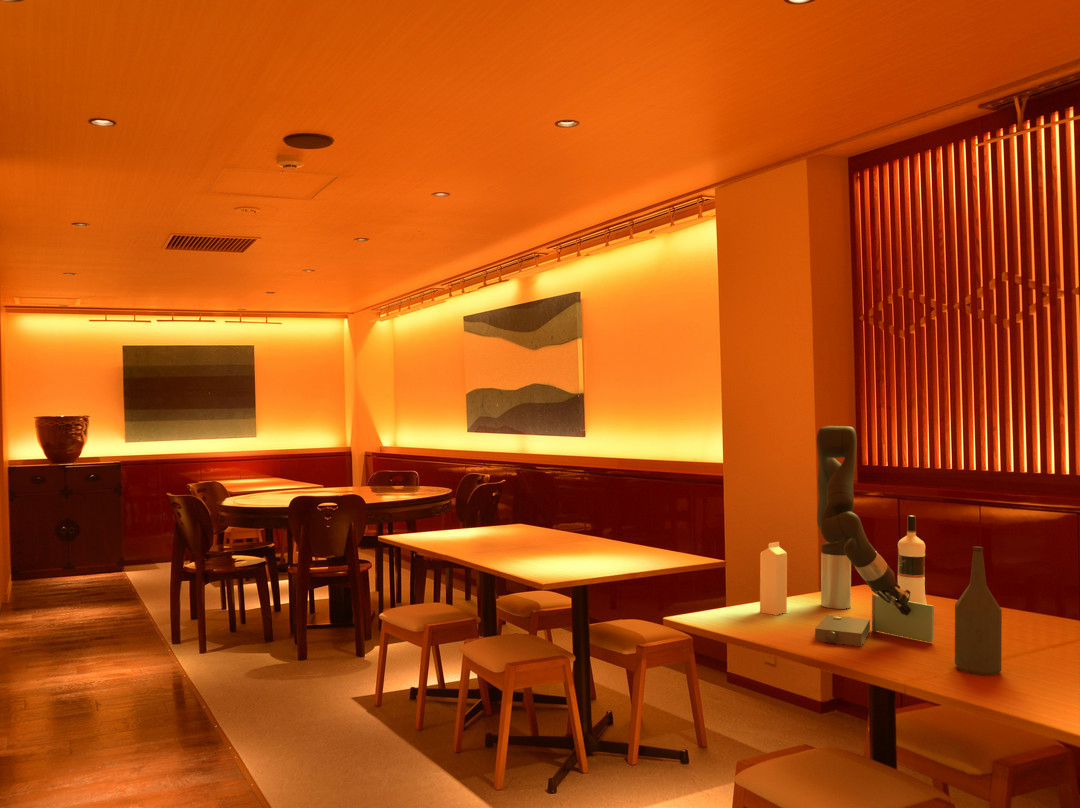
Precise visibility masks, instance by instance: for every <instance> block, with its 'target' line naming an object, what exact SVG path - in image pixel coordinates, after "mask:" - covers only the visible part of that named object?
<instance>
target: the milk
mask: <svg viewBox="0 0 1080 808" xmlns="http://www.w3.org/2000/svg"><path fill="white" fill-rule="evenodd" d="M759 563H760V565H759V568H760V569H759V571H760V573H759V574H760V575H759V576H760V577H759V578H760V579H759V613H761V614H762V613H763V614H766V615H767V614H768V615H772V614H773V615H772V616H779V614H780V615H783V614H782V613H784V614H786V612H787V608H788V607H787V606H788V603H787V602H788V600H787V599H788V598H787V597H788V552H787V551H785V550H784V549H783V548H781V547H780V541H774V542H769V543H768V546H767V548H765V549H764V550H763V551H761V552H760V561H759Z"/></svg>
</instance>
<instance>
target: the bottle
mask: <svg viewBox="0 0 1080 808" xmlns="http://www.w3.org/2000/svg"><path fill="white" fill-rule="evenodd" d="M972 551H973V553H972V559H971V560H972V561H971V569H970V578H969V584H968V585H967V587H966V588H965V590H964V591H963V593H962V594H961V595H960V597H959V599H957V601H956V602H955V604H954V664H955V667H956V668H957V669H958V671H960V670H962V671H961V672H963V671H964V672H963V673H966V672H967V673H966V674H969V673H974V674H973V675H976V674H979V675H978V676H984V675H989V676H994V675H993V674H997V675H999V674H1000V673H1001V672H1002V652H1003V651H1002V643H1003V642H1002V635H1003V634H1002V631H1003V630H1002V629H1003V628H1002V618H1003V617H1002V616H1003V615H1002V614H1003V613H1002V608H1001V607H1000V605H999V603H998V601H997V600H996V599H995V597H994V596H993V594H992V592H991V590H990V589H989V587H988V585H987V578H986V577H987V576H986V568H985V567H986V566H985V559H984V547H983V546H972ZM998 673H999V674H998Z"/></svg>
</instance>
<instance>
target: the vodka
mask: <svg viewBox="0 0 1080 808" xmlns="http://www.w3.org/2000/svg"><path fill="white" fill-rule="evenodd" d="M906 518H907V519H906V520H907V521H906V522H907V526H906V527H907V528H906V529H907V530H906V535H905V536H904V537H902V538H901V539H899V541H898V542H897V558H898V559H897V584H898V585H899V586H900V589H901V590H903V591H906V590H908V591H910V598H909V601H910V602H916V603H922V604H927V605H928V602H927V599H926V589H925V585H926V583H925V582H926V578H925V556H926V543H925V542H924V540H922V539H921V538H919V537H918V536H917V523H916V522H917V520H916V519H917V517H916V515H907V517H906Z"/></svg>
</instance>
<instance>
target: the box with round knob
mask: <svg viewBox="0 0 1080 808" xmlns="http://www.w3.org/2000/svg"><path fill="white" fill-rule="evenodd" d="M814 630H815V631H814V640H815V642H817V641H821V642H820V643H825V642H828V643H827V644H834V643H836V644H835V645H842V644H845V645H844V646H851V645H855V646H854V647H859V646H863V645H864V643H865V641H866V640H867V638H868V636H869V634H870V632H871V619H869V618H863V617H851V616H845V615H844V616H842V615H832V614H826V615H825V616H824V617H823V618H822V620H821V621H820V622H819V623H818V625H817V626H816V627H815V629H814ZM869 631H870V632H869ZM868 633H869V634H868ZM867 635H868V636H867ZM866 637H867V638H866ZM865 639H866V640H865ZM862 644H863V645H862Z"/></svg>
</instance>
